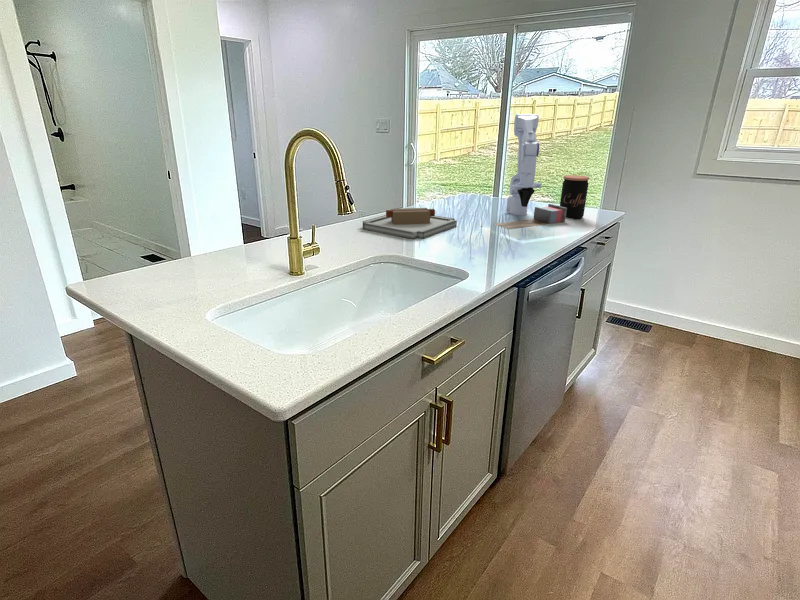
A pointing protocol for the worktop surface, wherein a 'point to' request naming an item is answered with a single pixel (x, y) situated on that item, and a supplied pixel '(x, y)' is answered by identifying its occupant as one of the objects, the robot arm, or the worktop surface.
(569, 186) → the coffee jar
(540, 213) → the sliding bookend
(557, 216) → the red rectangular block
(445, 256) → the worktop surface
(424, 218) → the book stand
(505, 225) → the book shelf
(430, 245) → the worktop surface
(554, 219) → the slate book
